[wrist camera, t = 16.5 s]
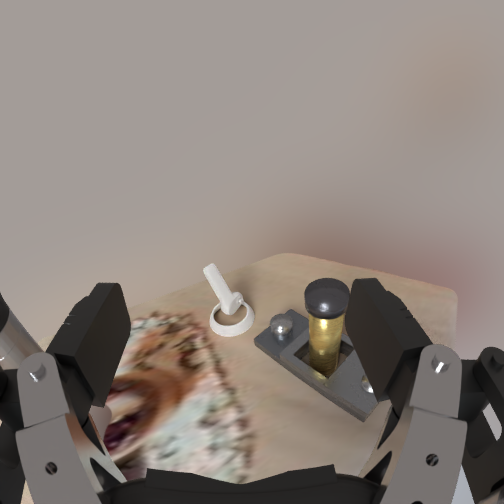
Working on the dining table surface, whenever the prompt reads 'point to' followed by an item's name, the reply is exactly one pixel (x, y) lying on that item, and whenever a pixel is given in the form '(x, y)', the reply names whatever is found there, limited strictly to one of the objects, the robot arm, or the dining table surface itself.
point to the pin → (325, 322)
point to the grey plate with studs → (334, 388)
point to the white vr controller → (227, 304)
